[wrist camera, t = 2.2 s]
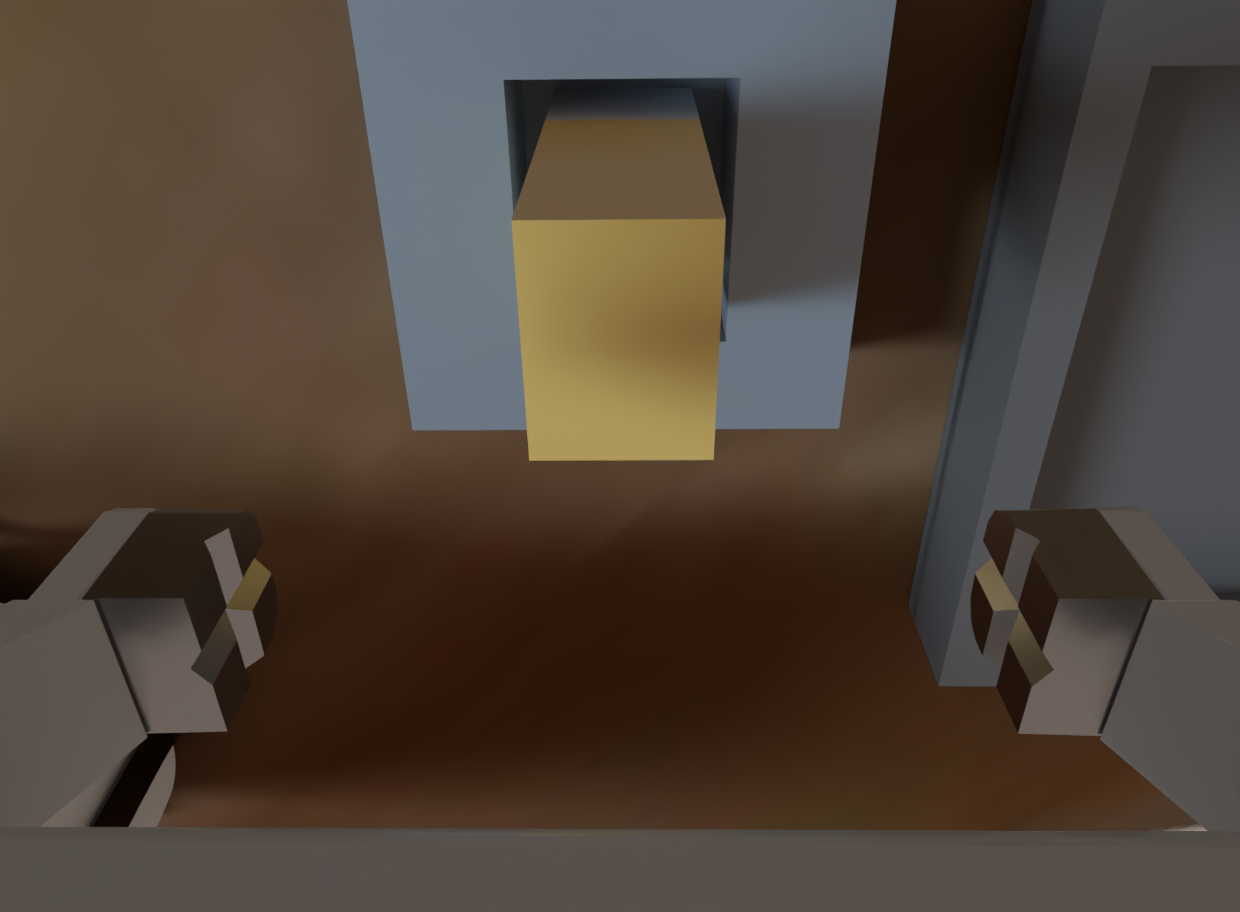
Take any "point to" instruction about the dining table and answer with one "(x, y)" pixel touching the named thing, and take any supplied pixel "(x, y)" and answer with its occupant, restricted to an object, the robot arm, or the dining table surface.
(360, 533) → the dining table surface
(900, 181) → the dining table surface
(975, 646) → the parts tray
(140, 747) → the coffee press
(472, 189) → the socket block
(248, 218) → the dining table surface
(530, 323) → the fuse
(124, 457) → the dining table surface
